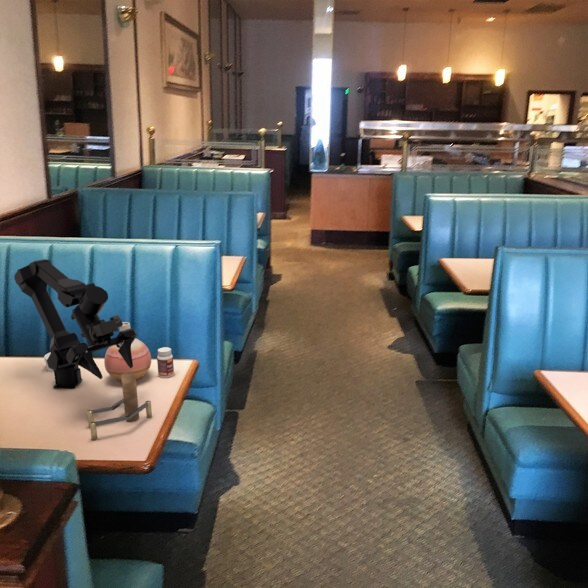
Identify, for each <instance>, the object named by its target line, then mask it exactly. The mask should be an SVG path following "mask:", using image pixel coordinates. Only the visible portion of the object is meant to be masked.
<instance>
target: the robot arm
mask: <svg viewBox="0 0 588 588" xmlns="http://www.w3.org/2000/svg"><path fill="white" fill-rule="evenodd" d="M14 281H15V283H16V285H17V286H18V287H19V289H20V291H21V292H22V293H23V294H24V295H26V296H28V297H30V298H31V300H32V303H33V304H34V306H35V308H36V311H37V313H38V315H39V317H40V318H41V321H42V323H43V325H44V327H45V330H46V332H47V333H48V335H49V337H50V344H49V353H50V352H51V354H50V356H49V357H48V359H47V363H48V367H49V368H51V369H53V370H54V372H53V375H54V382H55V384H54V385H53V386H52V388H53V389H64V390H65V389H68V390H69V389H70V390H71V389H72V390H73V389H76V388H77V387H78V385H80V384H81V383H82V382H83V378H82V373H81V371H82V370H81V368H83V369H84V370H86V371H88V372H89V373H91V374H92V375H93V376H95V377H97V378H98V379H99V380H102V379H103V374H102V372H101V370H100V368H99V366H98V365H97V363H96V361H95V360H94V357H93V353H95V352H97V351H100V350H104V349H108V348H109V347H111V346H114V345H116V346H117V347H118V348H120V349H119V350H118V351H119V353H120V354H121V356H122V357H123V359H124V360H125V362H126V363H127V365H128V366H129V367H130V368H132V367H133V362H132V355H131V344H132V343H133V341H134V339H135V338H136V339H137V337H138V334H137V332H136V330H134V328H132V327H130V329H127V330H124V331H120V329H119V327H121V326H122V325H123V324H122V322H123V320H122V319H121V317H120V315H113V316H111V317H110V318H109V320H104V319H101V318H100V316H99V314H100V313H101V311H102V310H103V308H104V307H105V304H106V303H107V301H108V299H109V293H108V292H107V290H105V289H104V287H103V288H102V287H100V286H98V285H96V284H95V283H94V282H92V283H87V284H86V283H84V282H83V281H81V280H78V279H75V278H74V279H72V278H69V277H68V276H67V275H65V274H64V273H63V272H62V271H60V270H59V269H58V268H57V267H56V266H54V264H52V262H51V260H50V259H47V258H42V259H38V260H33V261H32V262H30V263H28V265H25V266H24V267H21V268H18V269H17V271H16V272H15V273H14ZM48 286H49V287H50V288H51V289H52V290H53V291H55V292H56V293H57V300H58V301H59V303H61V305H63V306H64V307H65V308H71V307H74V308H73V309H72V310H71V311H72V312H71V315H70V319H71V320H72V321H76V324H77V326H78V328H79V329H80V331H81V333H80V336H81V338H82V339H83V338H84V339H85V341H86V343H85V342H80V340H79V338H78V335H77V334H76V333H75V332H69V331H68V330H67V328H66V326H65V325H64V323H63V320H62V318H61V316H60V314H59V312H58V309H57V308H56V306H55V304H54V302H53V300H52V297H51V296H50V294H49V292H48V288H47V287H48ZM115 332H118V334H117V335H116V337H113V336H114V335H115ZM111 337H113V338H111ZM80 367H81V368H80Z"/></svg>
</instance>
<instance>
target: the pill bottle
mask: <svg viewBox="0 0 588 588" xmlns="http://www.w3.org/2000/svg"><path fill="white" fill-rule="evenodd" d="M156 363H157V375H158V377H159V378H162V379H168V378H171V377H173V376H174V375H175V370H174V369H175V368H174V365H175V364H174V356H173V354H172V348H170V347H167V346H166V347H165V346H163V347H161V348H158V349H157V357H156Z"/></svg>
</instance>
